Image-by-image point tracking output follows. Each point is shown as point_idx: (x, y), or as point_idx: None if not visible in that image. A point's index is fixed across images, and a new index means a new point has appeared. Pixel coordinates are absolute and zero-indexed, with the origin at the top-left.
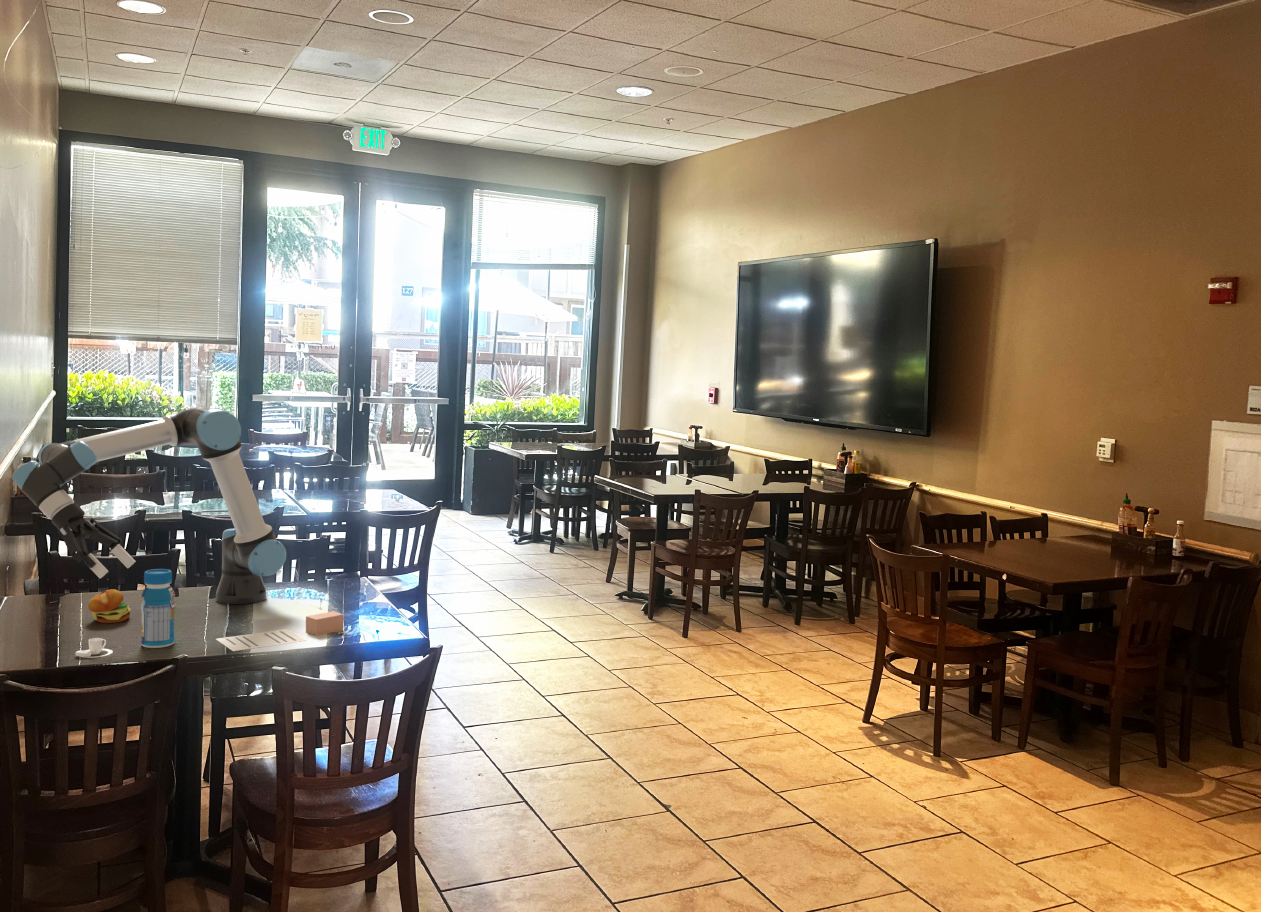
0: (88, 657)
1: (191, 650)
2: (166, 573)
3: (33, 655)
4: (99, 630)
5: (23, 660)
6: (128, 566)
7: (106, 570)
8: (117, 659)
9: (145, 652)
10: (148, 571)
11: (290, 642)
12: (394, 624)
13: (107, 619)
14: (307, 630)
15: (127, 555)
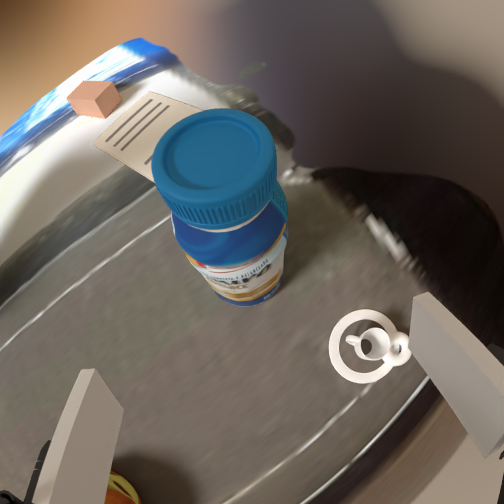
0: (396, 331)
1: None
2: (227, 109)
3: (424, 443)
4: (194, 479)
5: (455, 425)
6: (116, 405)
7: (428, 299)
8: (377, 267)
9: (309, 252)
10: (222, 186)
11: (164, 97)
12: (66, 84)
13: (137, 495)
14: (106, 112)
15: (79, 417)
